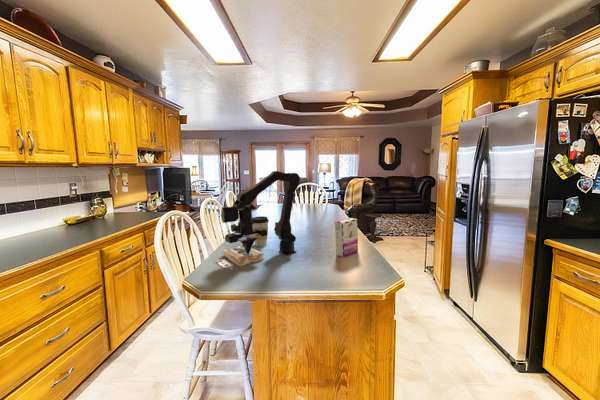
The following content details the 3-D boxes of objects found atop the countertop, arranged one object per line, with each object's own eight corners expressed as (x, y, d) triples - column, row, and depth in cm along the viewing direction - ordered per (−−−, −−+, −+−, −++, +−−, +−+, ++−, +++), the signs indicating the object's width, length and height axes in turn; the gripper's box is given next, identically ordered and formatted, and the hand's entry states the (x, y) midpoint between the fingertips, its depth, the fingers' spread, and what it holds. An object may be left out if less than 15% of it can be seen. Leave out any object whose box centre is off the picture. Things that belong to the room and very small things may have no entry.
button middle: (244, 252, 131) (243, 247, 130) (246, 253, 128) (246, 248, 128) (238, 253, 129) (237, 248, 128) (241, 255, 126) (240, 249, 126)
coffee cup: (255, 242, 154) (253, 216, 152) (271, 242, 153) (270, 216, 151) (249, 247, 145) (247, 219, 143) (267, 247, 143) (266, 219, 141)
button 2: (249, 256, 126) (249, 251, 126) (252, 258, 124) (252, 253, 124) (243, 258, 125) (243, 253, 124) (246, 260, 122) (246, 254, 122)
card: (224, 259, 127) (224, 258, 127) (233, 265, 119) (233, 264, 119) (215, 262, 124) (214, 260, 124) (223, 268, 116) (223, 267, 116)
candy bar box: (350, 249, 135) (349, 217, 133) (358, 252, 132) (358, 218, 129) (335, 255, 128) (334, 221, 126) (343, 257, 124) (342, 222, 122)
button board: (245, 250, 139) (245, 244, 139) (263, 259, 125) (263, 253, 125) (223, 255, 132) (222, 250, 132) (239, 266, 118) (238, 259, 118)
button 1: (239, 251, 135) (238, 246, 135) (241, 252, 133) (241, 247, 132) (233, 252, 133) (233, 247, 133) (236, 254, 131) (235, 249, 131)
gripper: (255, 214, 134) (257, 245, 136) (218, 220, 123) (221, 253, 125) (267, 217, 125) (268, 250, 127) (228, 224, 114) (231, 259, 116)
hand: (247, 253), depth 124 cm, fingers closed, pressing on button 2
